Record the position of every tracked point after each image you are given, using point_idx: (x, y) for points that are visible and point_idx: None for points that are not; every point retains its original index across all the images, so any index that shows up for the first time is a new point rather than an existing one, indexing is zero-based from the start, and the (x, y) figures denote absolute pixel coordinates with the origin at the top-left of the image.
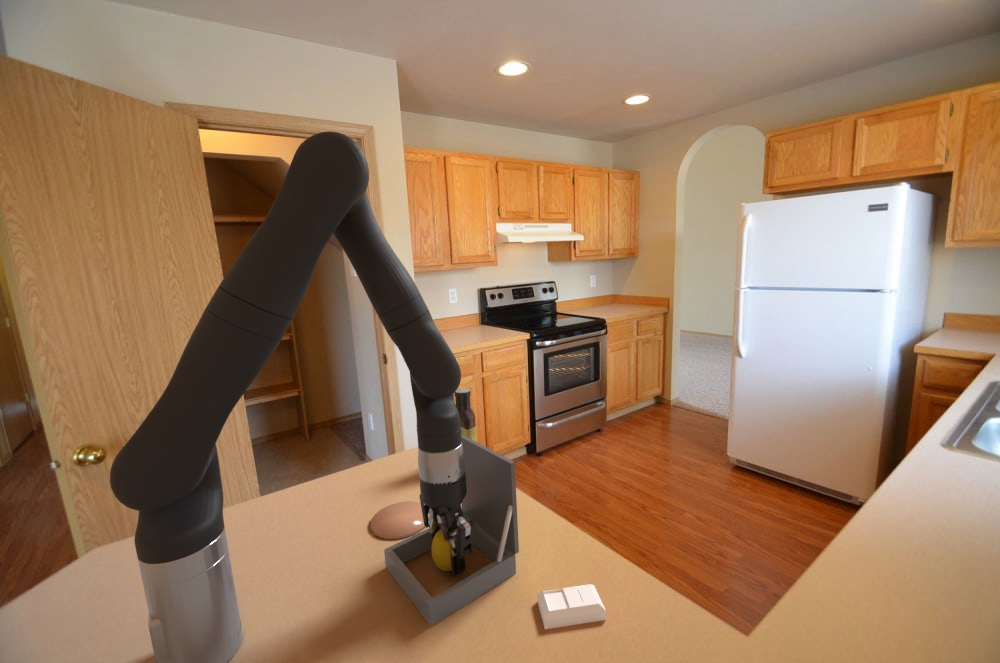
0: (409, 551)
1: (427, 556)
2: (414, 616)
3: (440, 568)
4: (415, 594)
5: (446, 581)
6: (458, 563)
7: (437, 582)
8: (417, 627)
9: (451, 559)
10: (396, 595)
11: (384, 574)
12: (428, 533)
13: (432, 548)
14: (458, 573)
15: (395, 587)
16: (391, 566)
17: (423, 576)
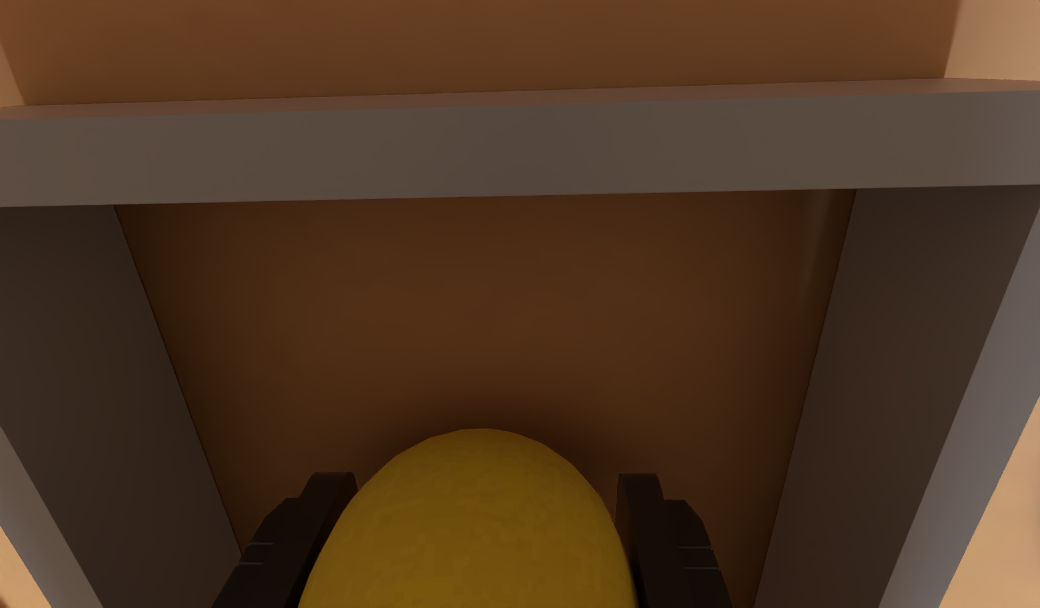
0: (877, 342)
1: (742, 413)
2: (189, 38)
3: (428, 439)
4: (188, 108)
5: (409, 394)
6: (221, 595)
7: (439, 346)
8: (59, 4)
9: (279, 590)
10: (520, 5)
11: (875, 23)
12: (874, 584)
13: (493, 571)
14: (281, 506)
15: (623, 43)
16: (837, 86)
17: (568, 298)
